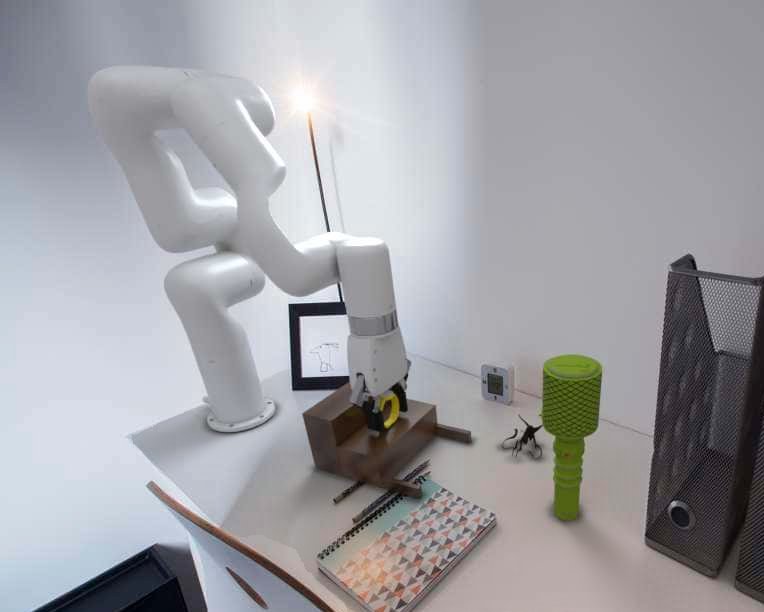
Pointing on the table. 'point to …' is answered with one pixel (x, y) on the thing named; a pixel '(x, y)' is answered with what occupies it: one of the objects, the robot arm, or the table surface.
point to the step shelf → (372, 440)
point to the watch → (395, 406)
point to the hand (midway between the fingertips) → (388, 419)
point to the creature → (525, 437)
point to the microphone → (570, 422)
